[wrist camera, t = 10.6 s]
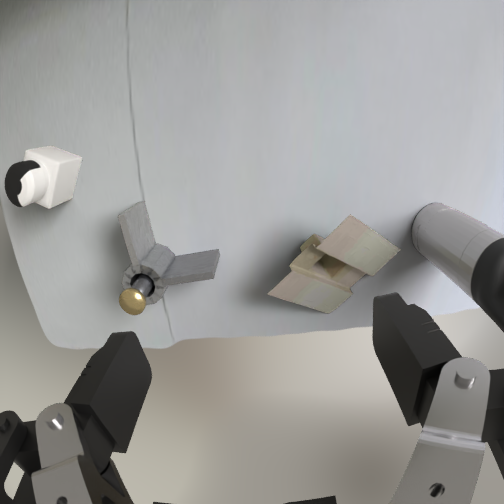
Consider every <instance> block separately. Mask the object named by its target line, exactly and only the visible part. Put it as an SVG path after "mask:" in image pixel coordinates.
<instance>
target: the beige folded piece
mask: <svg viewBox="0 0 504 504" xmlns="http://www.w3.org/2000/svg"><path fill="white" fill-rule="evenodd" d="M350 215H351V214H350ZM300 249H301V252H302V253H301V254H300V255H299V256H297V258H295V259H294V260H293V261H292V263H290V267H291V272H290V274H288V275H287V276H286V277H285V278H284V279H283V280H281V282H280V283H279V284H277V285H276V287H274V289H273V290H271V291H270V292H269V293H268V295H271V296H275V297H277V298H279V299H280V298H281V299H282V300H283V299H284V300H285V301H289V302H294V303H296V304H300V305H303V306H307V307H309V308H311V309H313V308H314V310H319V311H321V312H325V313H327V314H329V313H331V312H332V311H334V310H335V309H337V307H339V306H340V305H341V304H342V303H344V302H345V300H347V299H348V298H349V297H350V296H351V295H352V294H353V293H352V292H351V290H350V287H351V286H353V285H354V284H355V283H356V282H357V281H358V280H360V279H361V277H363V276H364V275H365V274H368V275H370V276H374V275H375V274H376V273H377V272H378V271H379V270H380V269H381V268H382V267H383V266H384V265H385V264H386V263H387V262H388V261H389V260H391V259H392V258H393V257H394V256H395V255H396V254H397V253H398V252H399V251H400V249H399V248H398V247H396V246H394V245H393V244H392V243H391V242H389V241H388V240H387V239H385V238H384V237H383V236H381V235H379V234H377V233H376V231H374V230H373V229H372V230H371V229H370V227H368V226H367V225H365V224H363V223H362V222H361V221H359V220H358V219H356V218H355V217H353V216H352V215H351V216H348V217H347V218H346V219H345V220H344V221H343V222H342V223H341V224H340V225H339V226H338V227H337V228H336V229H335V230H334V231H333V232H332V234H330V235H329V236H328V237H327V238H326V239H323V238H322V237H320V236H318V235H316V234H313V235H312V236H311V237H310V238H309V239H308V240H306V241H305V242H304V244H303V245H302V246H301V247H300Z"/></svg>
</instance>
